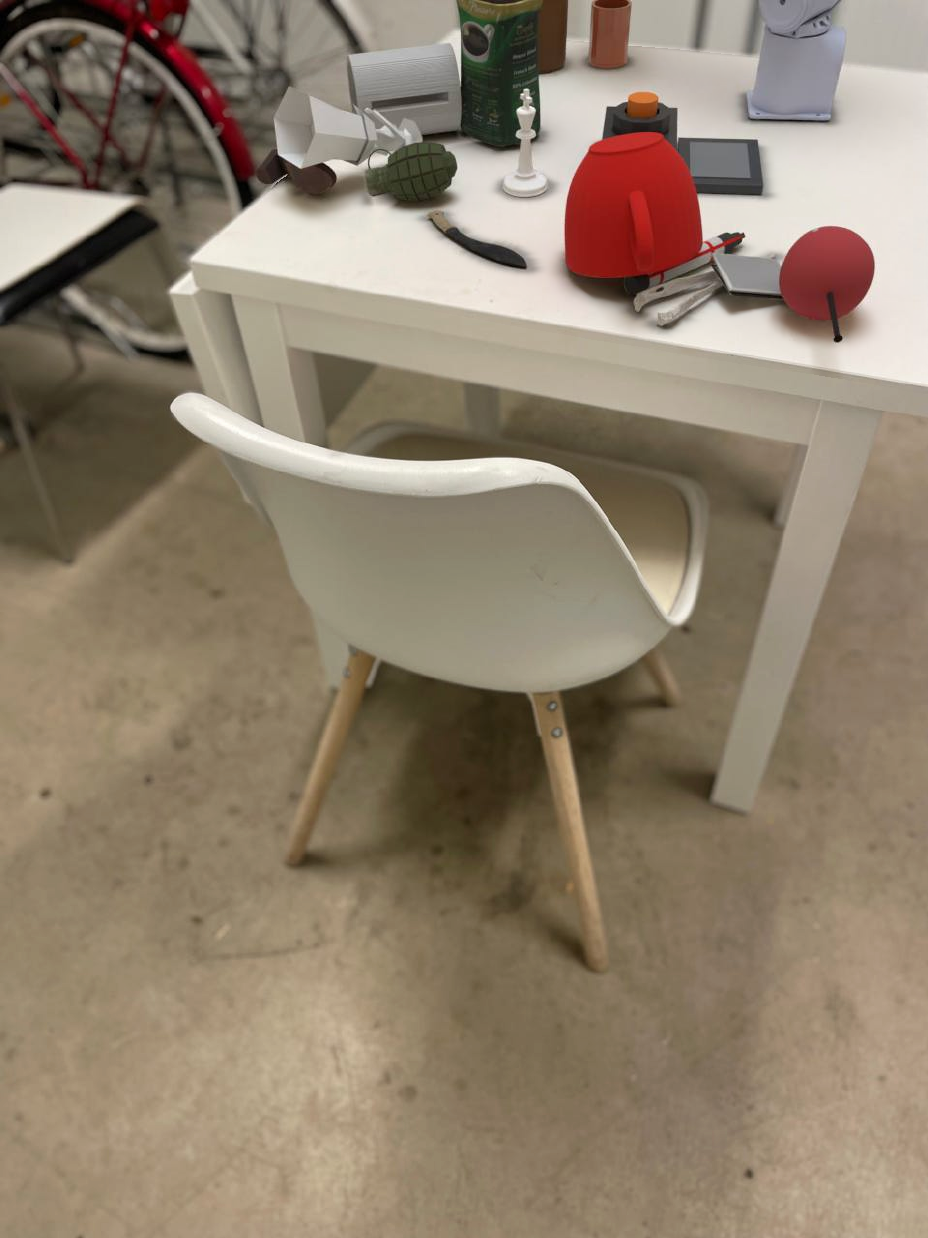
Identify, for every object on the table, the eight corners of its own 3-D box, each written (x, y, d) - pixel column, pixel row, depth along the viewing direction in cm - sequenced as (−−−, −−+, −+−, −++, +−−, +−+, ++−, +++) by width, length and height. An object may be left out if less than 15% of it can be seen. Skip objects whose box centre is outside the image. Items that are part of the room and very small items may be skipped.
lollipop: (770, 362, 78) (762, 279, 88) (856, 391, 78) (839, 305, 88) (818, 278, 72) (804, 200, 83) (911, 309, 73) (885, 228, 83)
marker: (640, 282, 87) (626, 269, 88) (635, 299, 89) (621, 287, 90) (755, 231, 93) (741, 220, 94) (749, 248, 94) (735, 237, 95)
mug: (506, 87, 125) (505, 4, 118) (472, 71, 129) (470, -10, 122) (577, 65, 129) (580, -16, 122) (542, 50, 133) (544, -29, 126)
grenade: (458, 134, 104) (373, 156, 107) (444, 120, 98) (353, 143, 100) (469, 196, 106) (384, 216, 108) (455, 186, 99) (366, 207, 101)
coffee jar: (551, 135, 114) (557, -49, 100) (503, 155, 111) (503, -33, 97) (497, 113, 119) (495, -65, 105) (449, 132, 116) (441, -50, 102)
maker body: (672, 145, 111) (679, 90, 106) (671, 191, 103) (679, 133, 98) (603, 143, 112) (607, 88, 107) (597, 189, 104) (601, 132, 99)
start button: (656, 108, 104) (658, 91, 103) (656, 120, 102) (658, 102, 101) (627, 108, 104) (628, 90, 103) (626, 119, 102) (627, 102, 101)
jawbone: (666, 330, 85) (670, 309, 83) (629, 308, 87) (632, 288, 86) (791, 278, 92) (797, 258, 91) (753, 259, 95) (758, 239, 93)
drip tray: (756, 147, 109) (758, 138, 109) (761, 194, 102) (763, 184, 101) (677, 145, 111) (678, 135, 110) (676, 191, 103) (677, 181, 102)
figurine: (271, 94, 100) (401, 120, 112) (279, 176, 102) (406, 193, 114) (310, 74, 95) (441, 104, 107) (317, 161, 97) (446, 181, 109)
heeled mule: (319, 157, 101) (339, 139, 102) (244, 154, 106) (264, 137, 108) (333, 197, 104) (352, 179, 106) (259, 193, 109) (279, 176, 111)
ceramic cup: (722, 151, 76) (724, 276, 82) (686, 114, 90) (690, 223, 95) (561, 180, 78) (574, 301, 84) (550, 140, 91) (561, 246, 97)
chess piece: (516, 200, 103) (517, 102, 95) (495, 183, 106) (493, 86, 98) (555, 190, 104) (559, 91, 97) (533, 173, 107) (535, 77, 100)
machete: (536, 266, 94) (536, 259, 93) (513, 276, 92) (513, 269, 92) (440, 213, 101) (440, 206, 101) (417, 221, 100) (417, 214, 100)
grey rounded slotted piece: (349, 106, 117) (444, 94, 119) (363, 159, 114) (460, 146, 115) (344, 36, 109) (445, 24, 110) (358, 91, 106) (462, 78, 107)
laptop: (717, 242, 87) (707, 260, 88) (738, 282, 84) (727, 301, 86) (783, 249, 89) (772, 266, 91) (805, 288, 86) (794, 306, 88)
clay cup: (627, 55, 131) (632, -4, 126) (625, 68, 127) (630, 9, 122) (589, 54, 131) (592, -4, 126) (587, 68, 128) (590, 8, 123)
